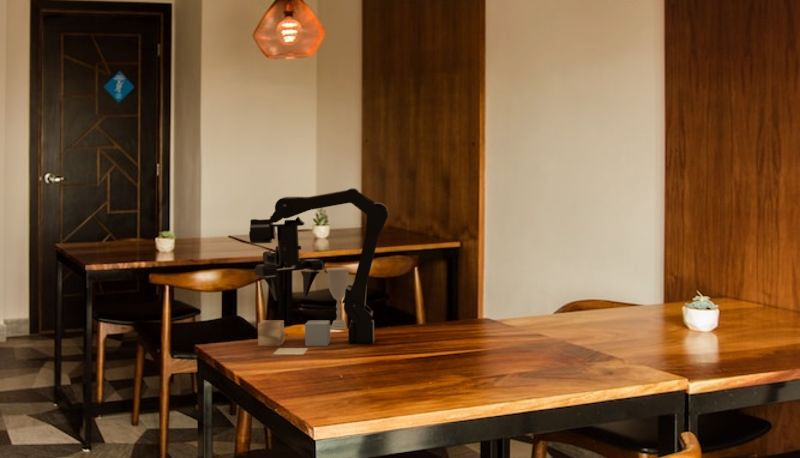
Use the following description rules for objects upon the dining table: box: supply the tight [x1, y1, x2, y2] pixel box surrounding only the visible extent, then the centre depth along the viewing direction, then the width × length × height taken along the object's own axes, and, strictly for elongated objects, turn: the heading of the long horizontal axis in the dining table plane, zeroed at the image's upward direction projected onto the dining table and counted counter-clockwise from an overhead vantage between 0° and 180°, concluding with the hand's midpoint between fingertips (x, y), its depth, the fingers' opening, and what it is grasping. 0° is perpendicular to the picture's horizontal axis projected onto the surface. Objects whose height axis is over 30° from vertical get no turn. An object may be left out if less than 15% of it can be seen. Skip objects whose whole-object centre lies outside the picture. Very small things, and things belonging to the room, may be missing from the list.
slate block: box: [304, 319, 331, 347], centre depth 278 cm, size 6×6×6 cm
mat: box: [272, 347, 309, 356], centre depth 267 cm, size 8×8×1 cm
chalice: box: [325, 267, 351, 330], centre depth 304 cm, size 7×7×18 cm
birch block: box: [257, 319, 285, 347], centre depth 279 cm, size 6×6×6 cm
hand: (290, 298), depth 279 cm, fingers open, 9 cm apart
